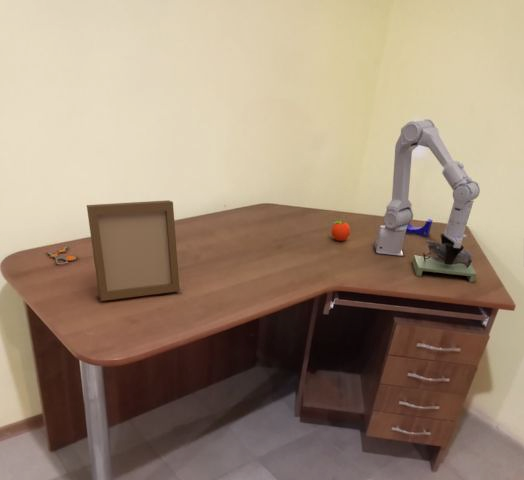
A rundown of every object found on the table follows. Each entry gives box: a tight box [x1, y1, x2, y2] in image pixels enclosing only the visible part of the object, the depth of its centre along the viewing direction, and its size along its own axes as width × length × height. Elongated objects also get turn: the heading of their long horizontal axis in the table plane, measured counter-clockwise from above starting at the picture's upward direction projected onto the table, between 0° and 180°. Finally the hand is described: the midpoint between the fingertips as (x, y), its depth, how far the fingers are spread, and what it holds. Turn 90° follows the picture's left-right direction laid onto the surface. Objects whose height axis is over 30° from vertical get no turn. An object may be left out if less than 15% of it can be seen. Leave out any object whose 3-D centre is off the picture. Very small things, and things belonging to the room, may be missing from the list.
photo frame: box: [86, 199, 181, 302], centre depth 143 cm, size 15×22×25 cm
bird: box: [422, 239, 474, 268], centre depth 172 cm, size 5×16×8 cm, turn 79°
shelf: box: [411, 254, 478, 283], centre depth 175 cm, size 19×10×3 cm, turn 85°
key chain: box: [46, 245, 77, 265], centre depth 163 cm, size 13×7×1 cm, turn 31°
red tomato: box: [328, 220, 351, 242], centre depth 191 cm, size 8×7×7 cm
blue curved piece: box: [405, 218, 433, 238], centre depth 204 cm, size 12×4×6 cm, turn 58°
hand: (446, 260), depth 173 cm, fingers open, 6 cm apart
